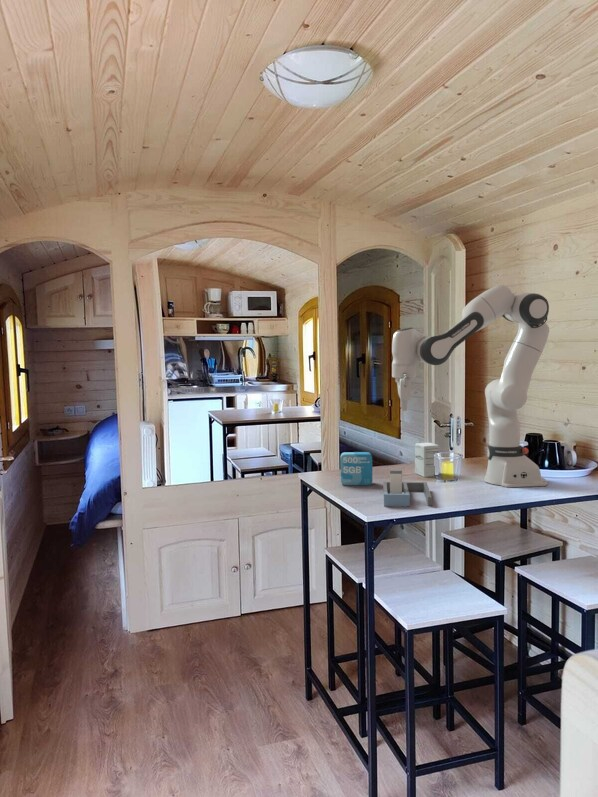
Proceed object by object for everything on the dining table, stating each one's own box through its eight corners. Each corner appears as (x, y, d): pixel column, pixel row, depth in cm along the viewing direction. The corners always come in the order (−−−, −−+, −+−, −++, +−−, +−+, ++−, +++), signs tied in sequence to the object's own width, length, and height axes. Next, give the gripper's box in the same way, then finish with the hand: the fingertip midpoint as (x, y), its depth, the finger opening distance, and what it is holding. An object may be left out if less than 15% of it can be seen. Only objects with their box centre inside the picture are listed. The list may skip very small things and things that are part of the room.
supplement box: (414, 473, 248) (414, 443, 247) (430, 472, 251) (430, 442, 249) (423, 477, 241) (423, 446, 240) (439, 475, 244) (439, 444, 242)
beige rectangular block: (401, 496, 213) (401, 468, 212) (401, 499, 209) (401, 470, 208) (390, 496, 213) (389, 468, 212) (390, 499, 210) (390, 470, 209)
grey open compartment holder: (426, 490, 221) (426, 479, 220) (432, 507, 199) (432, 495, 198) (383, 489, 223) (383, 479, 222) (384, 506, 201) (384, 494, 200)
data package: (341, 485, 231) (340, 454, 230) (340, 482, 235) (340, 452, 234) (372, 485, 230) (372, 454, 229) (371, 482, 235) (371, 451, 234)
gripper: (414, 374, 210) (414, 413, 211) (411, 371, 230) (411, 407, 231) (396, 374, 211) (396, 413, 212) (394, 371, 231) (394, 407, 232)
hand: (404, 410), depth 222 cm, fingers closed
